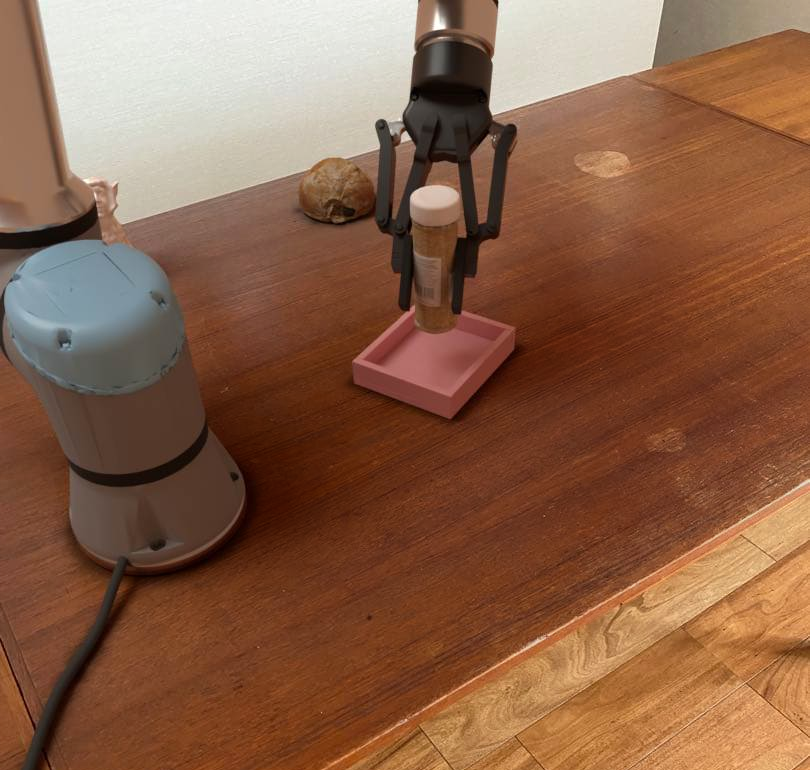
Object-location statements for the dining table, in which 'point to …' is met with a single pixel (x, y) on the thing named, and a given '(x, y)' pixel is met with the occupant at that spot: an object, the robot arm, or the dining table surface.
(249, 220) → the dining table surface
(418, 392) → the pink tray
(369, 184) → the bread roll
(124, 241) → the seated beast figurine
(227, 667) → the dining table surface
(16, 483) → the dining table surface
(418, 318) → the spice jar
